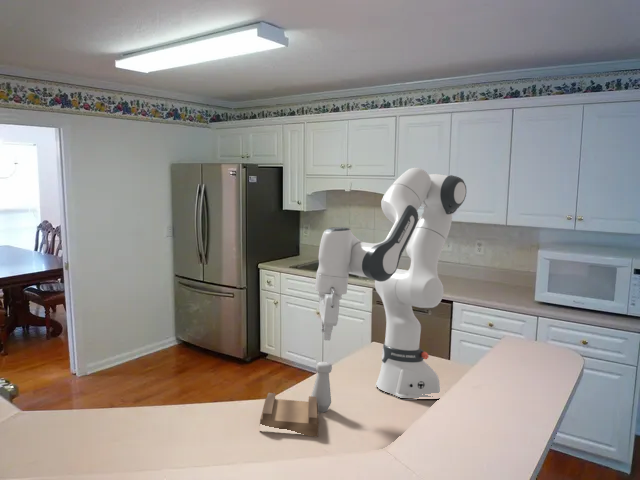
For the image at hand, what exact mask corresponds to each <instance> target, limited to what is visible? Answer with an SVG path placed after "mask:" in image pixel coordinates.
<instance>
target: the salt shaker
mask: <svg viewBox="0 0 640 480" xmlns="http://www.w3.org/2000/svg"><path fill="white" fill-rule="evenodd" d="M315 367H316V368H315V370H316V371H317V374H316V378H315V381H314V382H315V383H314V384H313V387H312V388H313V389H312V392H311V396H312V397H316V401H317V403H318V413H320V414H321V413H325V412H328V411H329V408H330V407H331V404H332V396H331V383H330V373H331V372H332V370H333V367H332V364H331V363H330V362H326V361H319V362H317V363H316V366H315Z"/></svg>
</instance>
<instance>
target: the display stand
mask: <svg viewBox="0 0 640 480" xmlns="http://www.w3.org/2000/svg"><path fill="white" fill-rule="evenodd" d="M319 421H320V420H319V412H318V403H317V401H316V397H312V396H310V395H309V396H308V401H305V400H304V401H302V400H293V399H281V398H280V399H279V398H276V393H275V392H267V396H266V398H265V400H264V404H263V408H262V411H261V415H260V420H259V425H260V424H262V425H265V426H269V427H274V428H279V429H287V430H291V431H295V432H297V433H301V434H304V435H308V436H307V437H316V438H317V437H319V424H320V422H319ZM304 435H303V436H304Z"/></svg>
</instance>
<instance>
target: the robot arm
mask: <svg viewBox="0 0 640 480" xmlns="http://www.w3.org/2000/svg"><path fill="white" fill-rule="evenodd" d="M466 197H467V185H466V183H465V181H464V179H463V178H461V177H459V176H457V175H452V174H450V175H447V174H441V173H440V174H439V173H432V174H431V173H428V172H427V171H426V170H424V169H422V168H421V167H420V168H419V167H410V168H408V169H407V170H405V171H404V172H403V173H402V174H401V175H400V176H398V177H397V178H396V179H395V180H394V182H393V183H391V185H390V186H389V187H388V188H387V190H386V191H385V192H384V194H383V197H382V199H381V202H380V203H381V204H380V205H381V210H382V213H383V214H384V216H385V217H386V219H387V220H389V221H390V222H391V223H392V224H393V225H392V227H391V229H390V230H389V233H388V234H387V236H386V238H385V239H384V240H382V241H379V242H375V243H373V242H372V243H371V242H365V241H362V240H360V239H358V237H356V236H355V235H354V234H353V232H352V229H350V228H349V227H346V226H345V227H344V226H343V227H342V226H340V227H336V226H335V227H328V228H326V229H325V230H324V231H323V232H322V236H321V239H320V242H319V248H318V249H319V250H318V259H317V260H318V268H317V270H316V274H315V284H314V291H315V292H317V293H318V312H319V314H320V317H321V329H320V330H321V333H322V334H323V340H324V341H330V340H331V338H332V333H333V329H334V327H337V325H338V322H339V314H340V313H339V311H340V300H342V296H343V295H347V293H348V286H349V285H348V283H349V274H350V275H354V276H357V277H363V278H368V279H370V280H373V281H374V289H375V291H376V293H377V294H378V296H379V297H380V299H381V301H382V305H383V307H384V308H383V309H384V311H385V312H384V313H385V322H386V325H385V335H384V337H385V339H384V343H383V346H382V349H381V366H380V370H379V371H380V372H379V374H378V377H377V381H376V383H375V386H376V385H377V387H378V388H379V389H381V390H383V391H385V392H388V393H391V394H394V395H396V396H398V397H400V398H419V397H431V396H428V395H425V394H431V393H439V392H440V387H441V385H440V384H441V383H440V378H439V376H438V374H437V373H436V371H435V370H434V369H433V368H432V367H431V366H430V365H429V364H428V363H427V362H426V361H425V360H428V359H429V356H430V355H429V354H428V352H427V351H424V350H423V349H421V348H420V339H421V331H422V325H421V323H420V321H419V320H418V318H417V317H416V316H415V313H414V311H413V307H416V308H420V309H423V308H424V309H430V308H431V309H433V308H436V307H438V305H439V304H440V302H441V301H442V300H443V297H444V293H445V291H444V285H443V283H442V281H441V279H440V277H439V273H438V265H439V260H440V258H441V255H442V252H443V249H444V246H445V244H446V242H447V239H448V237H449V233H450V229H451V227H452V221H453V214H454V213H455V212H456V211H457V210H458V209H459V208H461V206H462V204H463V203H464V202H465V199H466ZM420 207H422V208H423V212H422V214H421V216H419V212H418V210H419V209H420ZM404 251H406V254H407V257H409V259H410V266H409V268H408V270H407V269H401V268H398V267H399V263H400V259H401V257H402V255H403V252H404ZM379 389H378V390H379ZM385 392H384V393H385ZM391 394H390V395H391ZM422 394H423V395H422ZM394 395H393V396H394ZM396 396H395V397H396ZM398 397H397V398H398ZM432 397H433V396H432ZM400 398H399V399H400Z"/></svg>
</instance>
